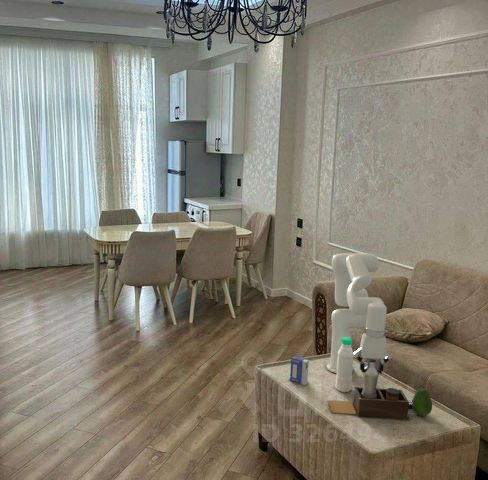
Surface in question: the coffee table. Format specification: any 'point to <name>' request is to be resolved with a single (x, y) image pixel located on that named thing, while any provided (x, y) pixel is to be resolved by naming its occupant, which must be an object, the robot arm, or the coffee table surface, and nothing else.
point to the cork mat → (342, 407)
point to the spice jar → (392, 394)
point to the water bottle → (344, 366)
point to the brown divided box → (381, 405)
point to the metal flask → (370, 380)
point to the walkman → (299, 370)
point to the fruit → (422, 402)
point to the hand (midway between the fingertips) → (371, 371)
